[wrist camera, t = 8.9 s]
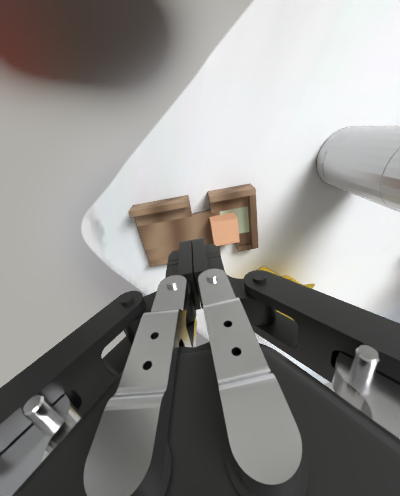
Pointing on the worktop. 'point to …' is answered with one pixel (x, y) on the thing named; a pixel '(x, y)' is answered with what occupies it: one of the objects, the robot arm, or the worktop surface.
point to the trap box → (194, 221)
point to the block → (224, 229)
